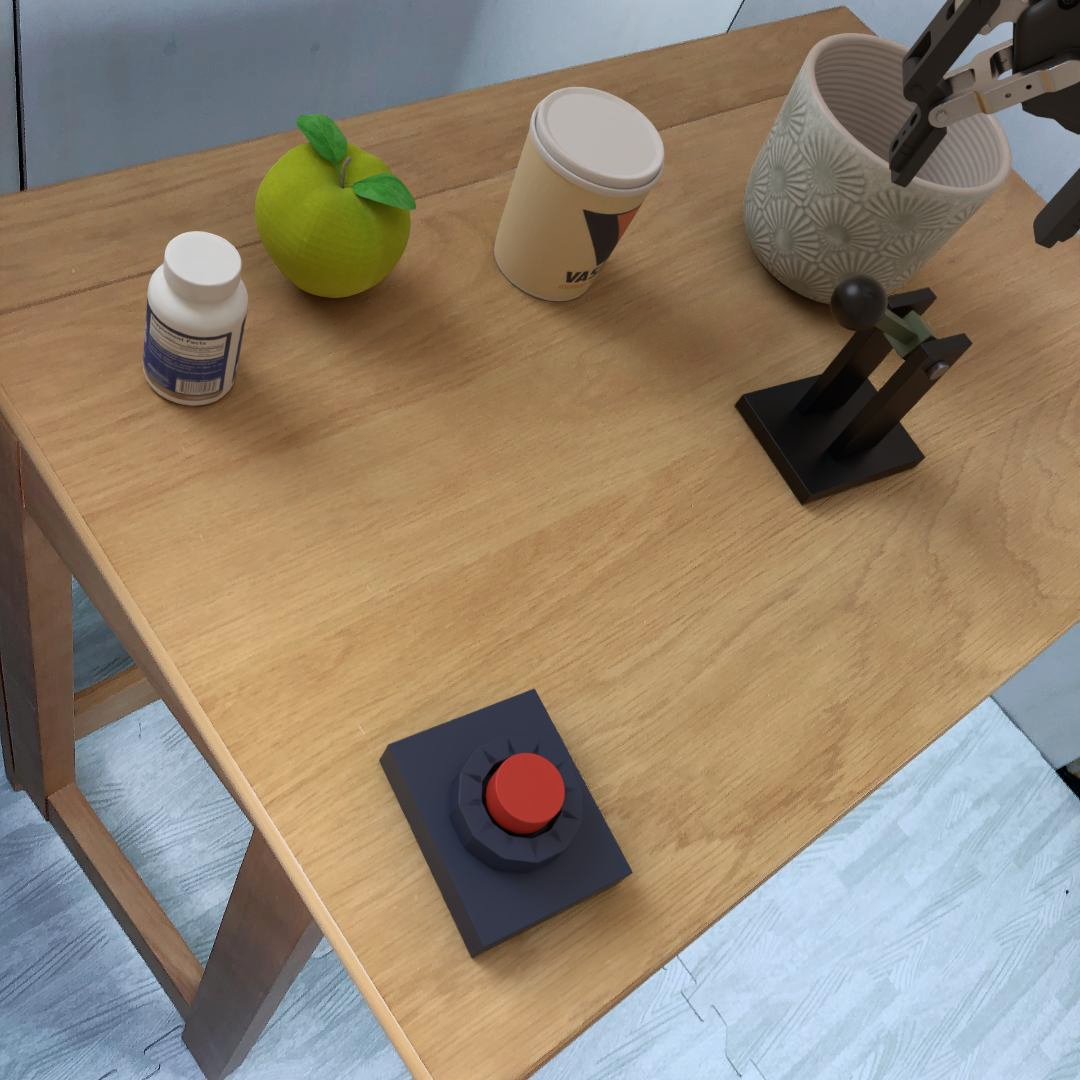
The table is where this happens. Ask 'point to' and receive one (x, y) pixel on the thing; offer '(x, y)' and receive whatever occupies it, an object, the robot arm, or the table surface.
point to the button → (525, 793)
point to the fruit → (332, 213)
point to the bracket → (850, 411)
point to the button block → (480, 842)
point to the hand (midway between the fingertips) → (969, 206)
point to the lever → (878, 314)
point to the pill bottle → (195, 320)
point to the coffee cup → (575, 191)
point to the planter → (861, 175)
